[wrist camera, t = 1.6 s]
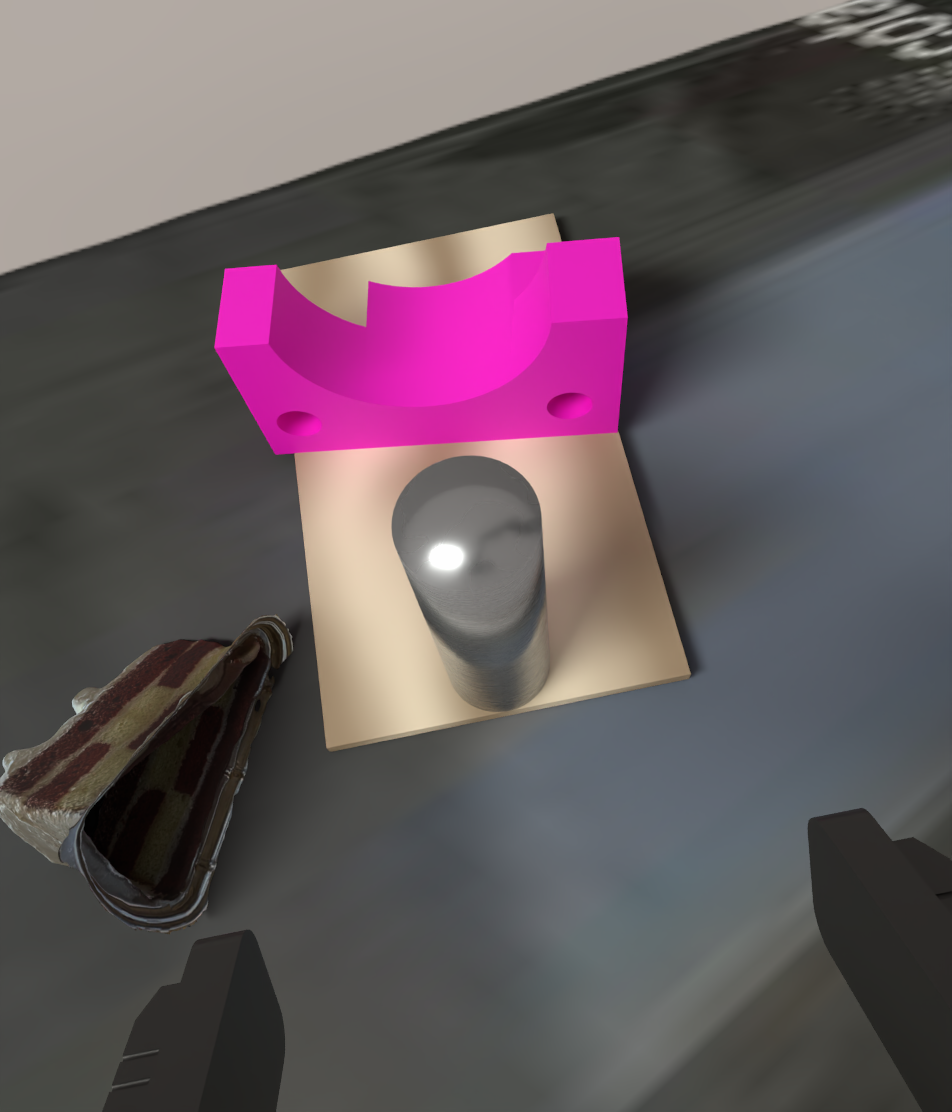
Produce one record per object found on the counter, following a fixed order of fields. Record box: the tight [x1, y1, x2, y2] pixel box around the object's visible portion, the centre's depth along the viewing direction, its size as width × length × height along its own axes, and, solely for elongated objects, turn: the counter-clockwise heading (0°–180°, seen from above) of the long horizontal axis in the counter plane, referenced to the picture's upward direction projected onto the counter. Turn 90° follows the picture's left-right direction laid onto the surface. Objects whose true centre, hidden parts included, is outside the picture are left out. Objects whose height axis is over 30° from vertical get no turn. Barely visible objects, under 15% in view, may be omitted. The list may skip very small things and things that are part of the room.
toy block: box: [215, 237, 628, 454], centre depth 37 cm, size 15×6×8 cm, turn 91°
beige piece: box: [280, 214, 691, 752], centre depth 34 cm, size 14×24×13 cm, turn 10°
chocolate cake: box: [0, 614, 293, 934], centre depth 33 cm, size 10×7×12 cm
